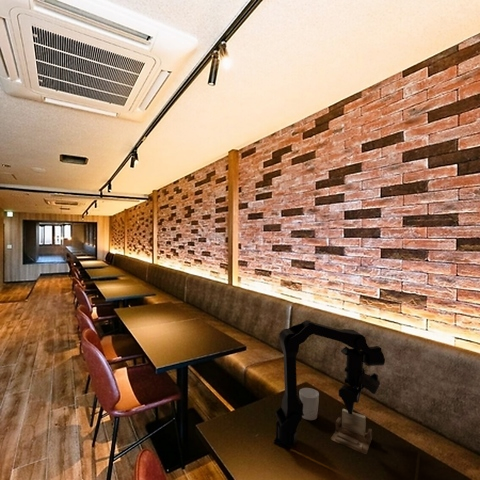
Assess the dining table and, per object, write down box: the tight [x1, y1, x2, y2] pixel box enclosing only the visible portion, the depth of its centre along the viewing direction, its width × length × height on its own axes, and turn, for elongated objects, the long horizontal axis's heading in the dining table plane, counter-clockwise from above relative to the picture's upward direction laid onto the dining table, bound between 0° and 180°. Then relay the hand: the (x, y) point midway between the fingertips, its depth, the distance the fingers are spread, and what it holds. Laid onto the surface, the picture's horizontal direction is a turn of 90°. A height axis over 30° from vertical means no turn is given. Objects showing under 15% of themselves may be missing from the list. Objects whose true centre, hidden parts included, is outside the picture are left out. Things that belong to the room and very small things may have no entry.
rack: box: [330, 416, 373, 455], centre depth 104 cm, size 12×10×4 cm
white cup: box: [298, 387, 320, 421], centre depth 118 cm, size 8×8×10 cm
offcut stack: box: [335, 432, 363, 452], centre depth 101 cm, size 9×3×2 cm, turn 54°
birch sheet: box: [341, 408, 367, 437], centre depth 106 cm, size 8×2×8 cm, turn 54°
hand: (353, 407), depth 106 cm, fingers open, 9 cm apart
